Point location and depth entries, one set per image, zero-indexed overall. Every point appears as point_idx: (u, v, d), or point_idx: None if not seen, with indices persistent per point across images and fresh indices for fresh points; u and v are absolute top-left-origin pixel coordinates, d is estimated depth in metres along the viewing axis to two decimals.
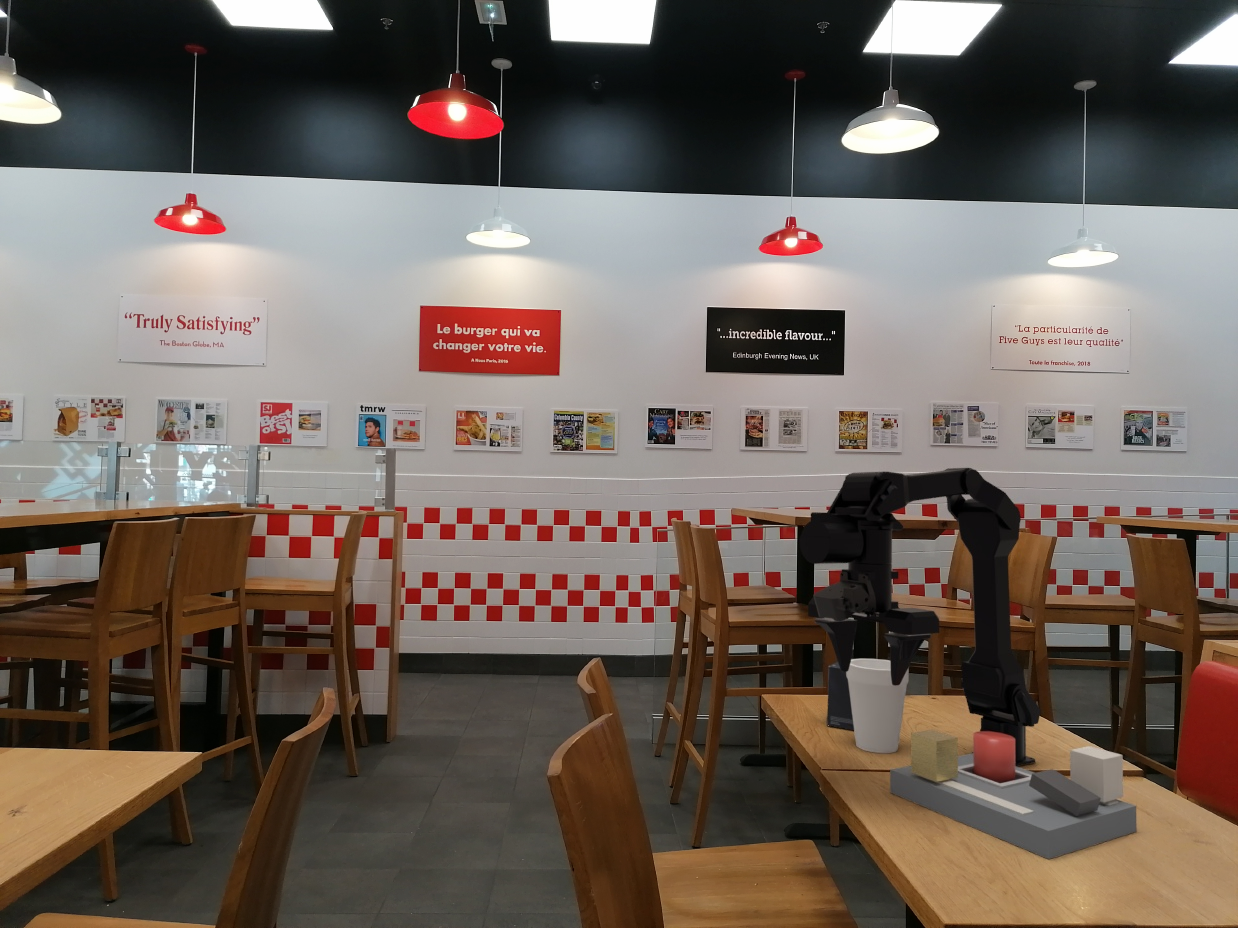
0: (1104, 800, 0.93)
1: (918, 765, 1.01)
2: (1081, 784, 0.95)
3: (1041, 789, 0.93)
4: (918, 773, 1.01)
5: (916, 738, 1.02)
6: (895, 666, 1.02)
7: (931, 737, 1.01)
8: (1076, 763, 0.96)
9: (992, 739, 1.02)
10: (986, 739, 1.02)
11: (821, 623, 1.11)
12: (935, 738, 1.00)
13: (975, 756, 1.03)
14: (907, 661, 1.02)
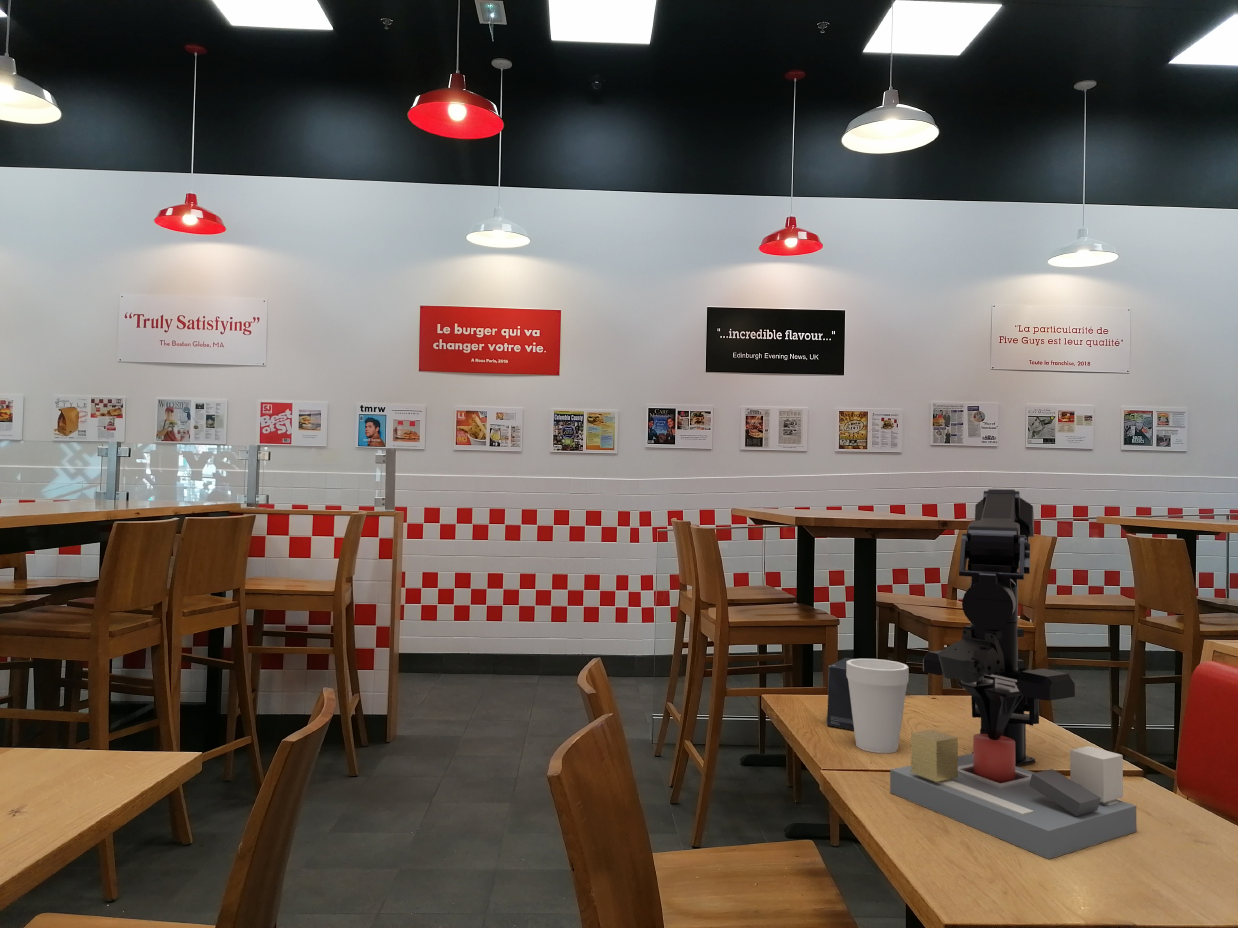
0: (1104, 800, 0.93)
1: (918, 765, 1.01)
2: (1081, 784, 0.95)
3: (1041, 789, 0.93)
4: (918, 773, 1.01)
5: (916, 738, 1.02)
6: (996, 721, 1.02)
7: (931, 737, 1.01)
8: (1076, 763, 0.96)
9: (992, 742, 1.02)
10: (986, 742, 1.02)
11: (967, 686, 1.04)
12: (935, 738, 1.00)
13: (975, 759, 1.03)
14: (1007, 716, 1.03)
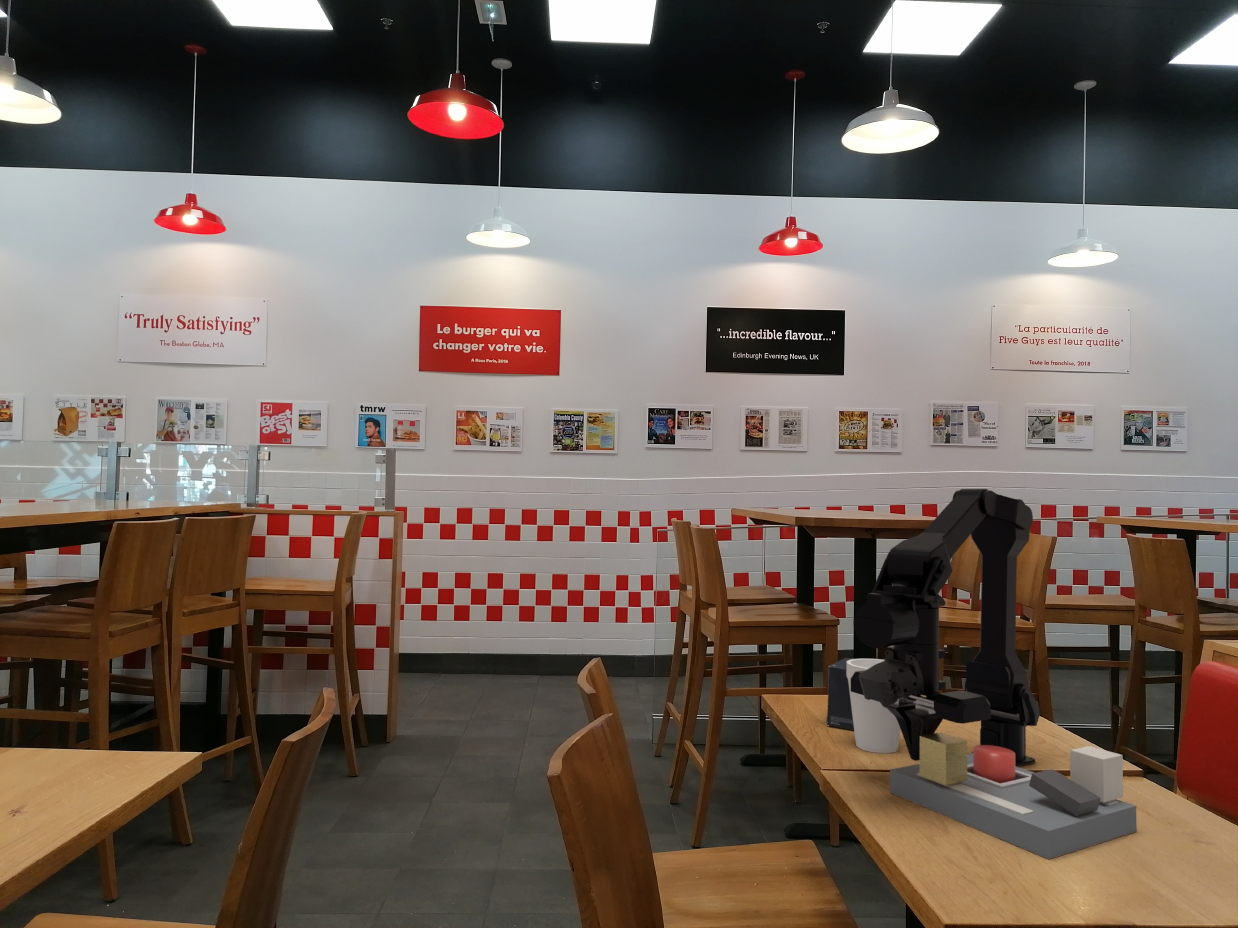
0: (1104, 800, 0.93)
1: (927, 768, 1.00)
2: (1081, 784, 0.95)
3: (1041, 789, 0.93)
4: (927, 776, 1.00)
5: (925, 741, 1.00)
6: (916, 742, 1.03)
7: (940, 740, 0.99)
8: (1076, 763, 0.96)
9: (992, 753, 1.02)
10: (986, 753, 1.02)
11: (889, 707, 1.05)
12: (944, 741, 0.99)
13: (975, 770, 1.03)
14: None
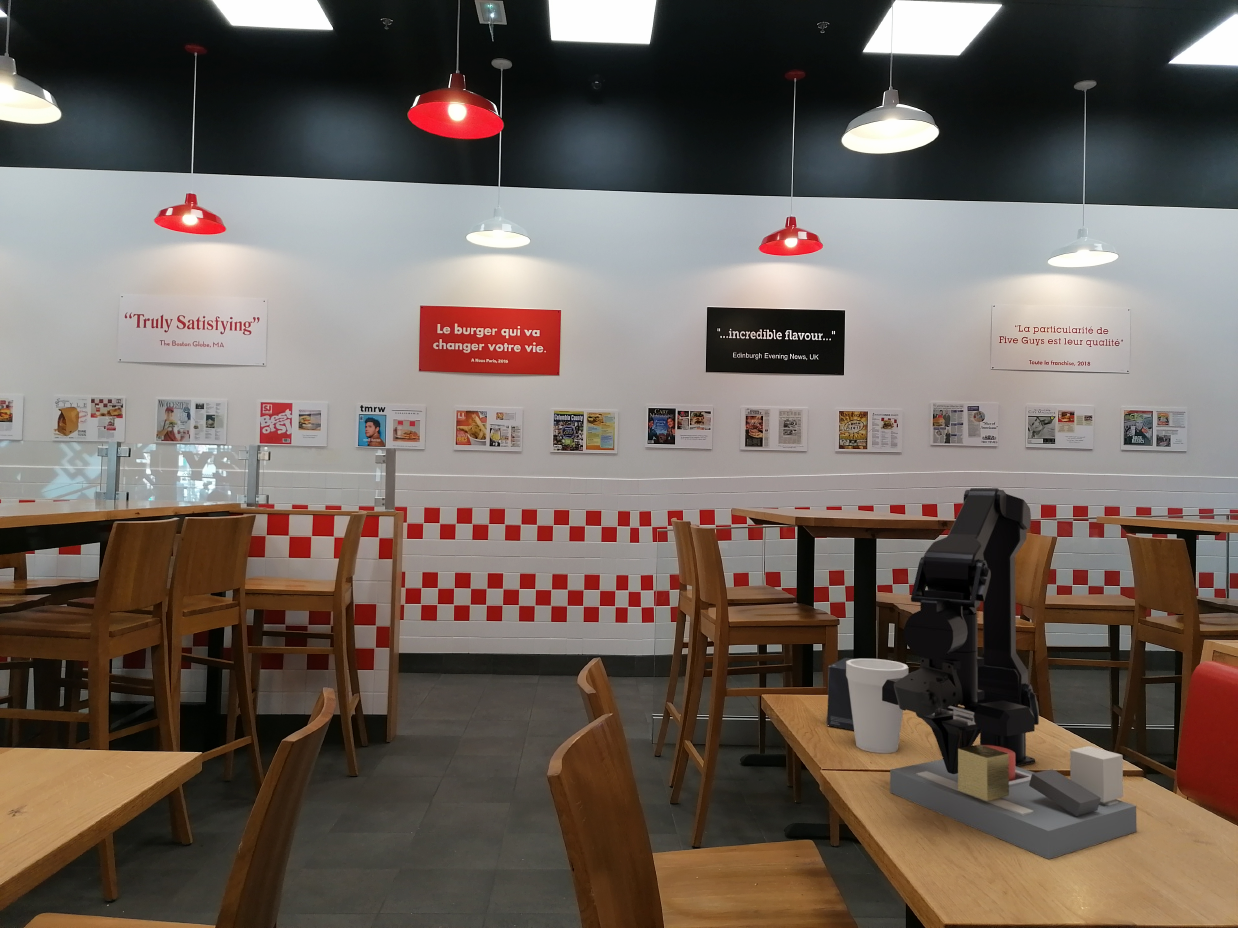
0: (1104, 800, 0.93)
1: (966, 783, 0.95)
2: (1081, 784, 0.95)
3: (1041, 789, 0.93)
4: (966, 791, 0.95)
5: (964, 754, 0.95)
6: (954, 755, 0.98)
7: (980, 753, 0.94)
8: (1076, 763, 0.96)
9: None
10: None
11: (924, 718, 1.00)
12: (985, 754, 0.94)
13: None
14: None
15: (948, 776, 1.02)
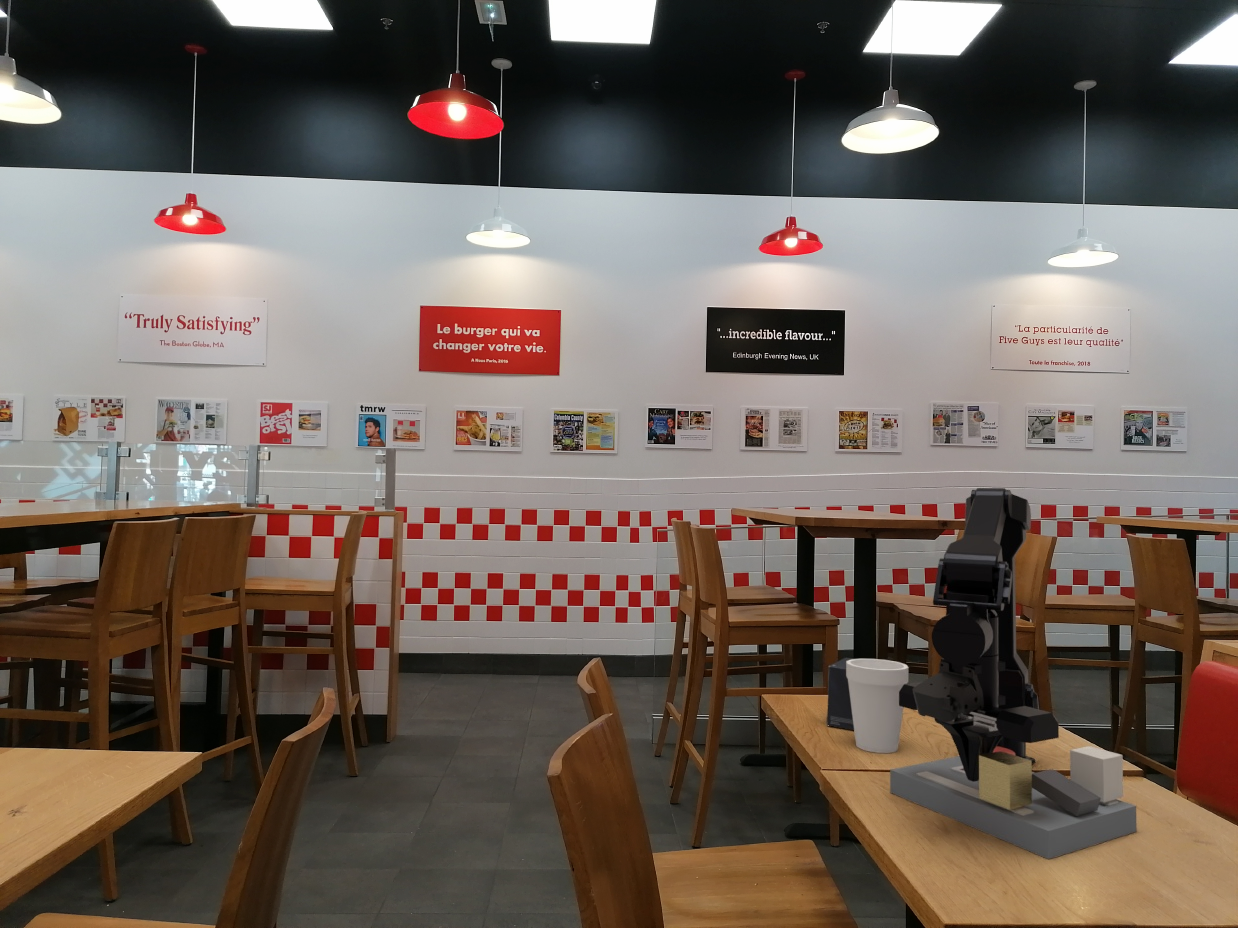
0: (1104, 800, 0.93)
1: (988, 791, 0.92)
2: (1081, 784, 0.95)
3: (1041, 789, 0.93)
4: (988, 799, 0.92)
5: (985, 761, 0.93)
6: (974, 762, 0.95)
7: (1002, 760, 0.92)
8: (1076, 763, 0.96)
9: None
10: None
11: (944, 723, 0.97)
12: (1007, 761, 0.91)
13: None
14: None
15: (948, 776, 1.02)
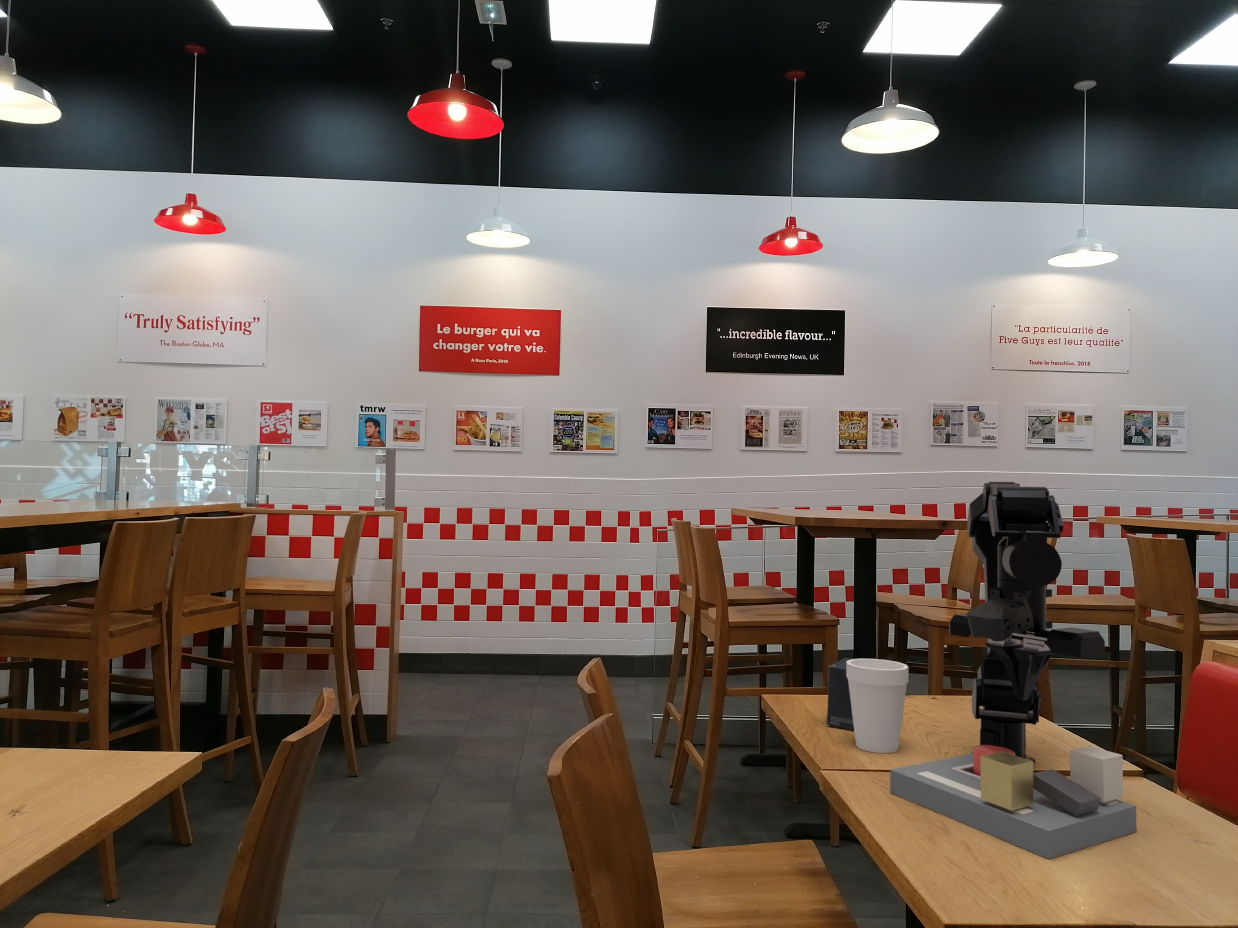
0: (1104, 800, 0.93)
1: (989, 791, 0.92)
2: (1081, 784, 0.95)
3: (1041, 789, 0.93)
4: (989, 800, 0.92)
5: (987, 761, 0.93)
6: (1024, 681, 1.02)
7: (1004, 761, 0.92)
8: (1076, 763, 0.96)
9: None
10: (986, 753, 1.02)
11: (994, 647, 1.04)
12: (1009, 762, 0.91)
13: (975, 770, 1.03)
14: (1035, 676, 1.03)
15: (948, 776, 1.02)
